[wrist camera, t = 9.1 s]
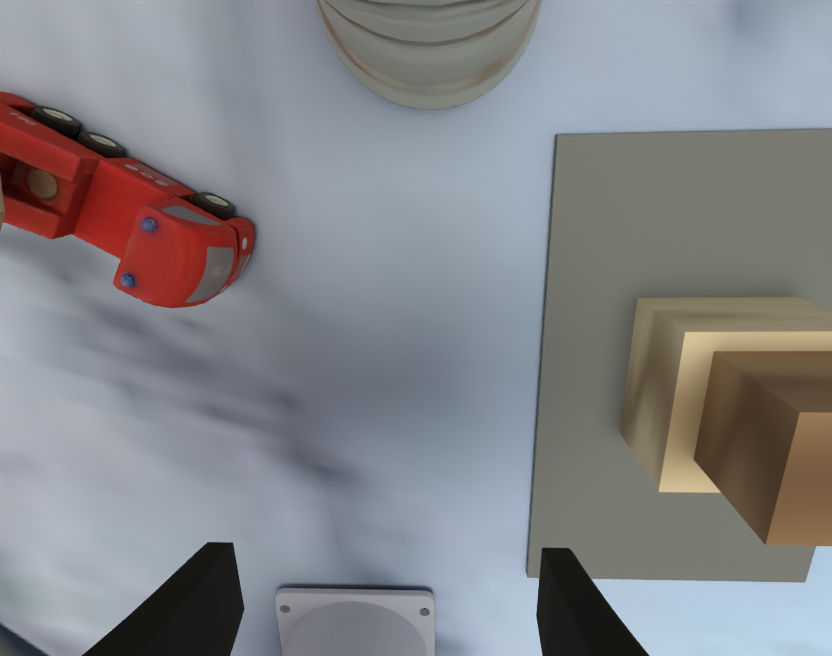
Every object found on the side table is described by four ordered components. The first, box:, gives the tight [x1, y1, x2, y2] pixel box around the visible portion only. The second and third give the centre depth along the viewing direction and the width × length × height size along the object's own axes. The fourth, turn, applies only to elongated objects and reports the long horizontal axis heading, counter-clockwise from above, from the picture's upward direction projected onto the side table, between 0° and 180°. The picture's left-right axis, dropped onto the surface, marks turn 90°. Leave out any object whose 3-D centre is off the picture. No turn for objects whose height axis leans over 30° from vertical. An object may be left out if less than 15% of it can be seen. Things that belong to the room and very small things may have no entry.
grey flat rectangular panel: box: [526, 129, 832, 582], centre depth 21 cm, size 20×13×1 cm, turn 1°
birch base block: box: [620, 297, 832, 493], centre depth 18 cm, size 6×6×4 cm
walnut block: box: [694, 351, 832, 546], centre depth 15 cm, size 4×4×4 cm
